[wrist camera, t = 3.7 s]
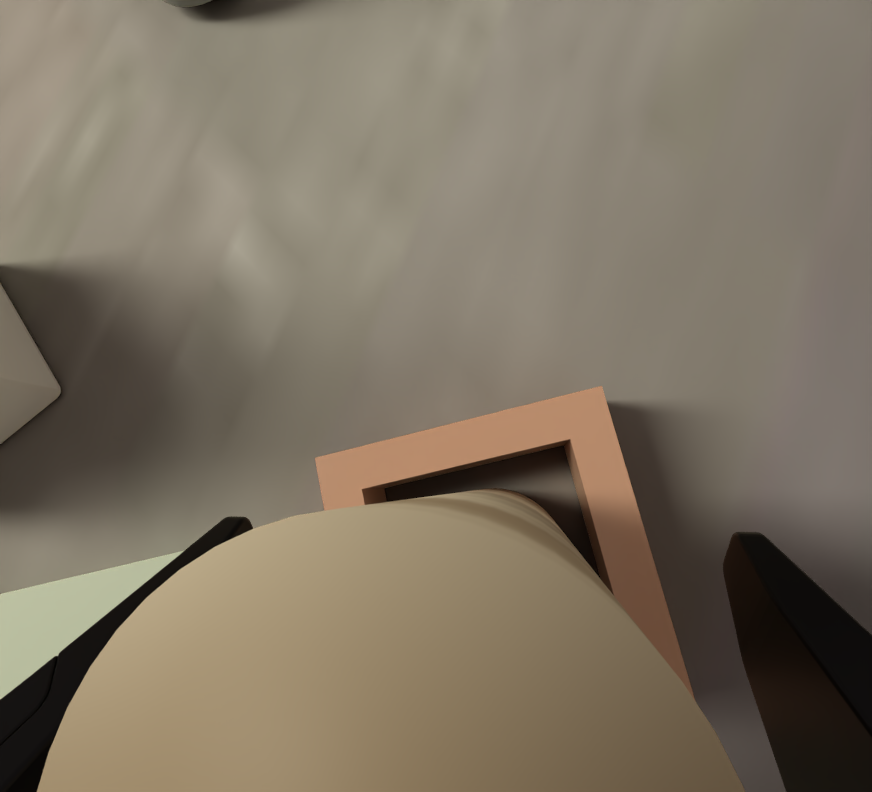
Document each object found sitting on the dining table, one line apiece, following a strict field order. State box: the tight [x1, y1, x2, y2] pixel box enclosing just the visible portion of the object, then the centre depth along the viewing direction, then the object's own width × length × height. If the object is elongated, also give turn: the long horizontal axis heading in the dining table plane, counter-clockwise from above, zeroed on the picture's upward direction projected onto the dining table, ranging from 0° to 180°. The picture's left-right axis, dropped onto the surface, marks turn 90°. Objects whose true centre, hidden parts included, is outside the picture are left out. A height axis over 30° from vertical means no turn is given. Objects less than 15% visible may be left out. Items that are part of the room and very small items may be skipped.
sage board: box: [0, 551, 184, 699], centre depth 17 cm, size 13×13×1 cm
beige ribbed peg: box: [37, 488, 745, 792], centre depth 10 cm, size 4×4×14 cm
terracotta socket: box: [315, 386, 696, 702], centre depth 15 cm, size 8×8×2 cm
